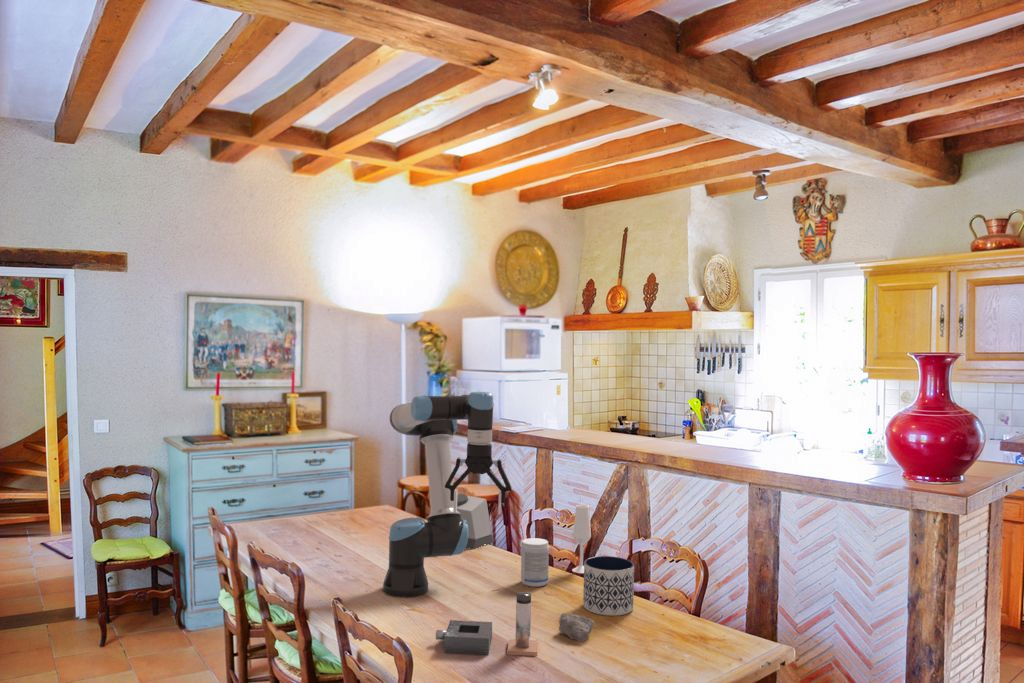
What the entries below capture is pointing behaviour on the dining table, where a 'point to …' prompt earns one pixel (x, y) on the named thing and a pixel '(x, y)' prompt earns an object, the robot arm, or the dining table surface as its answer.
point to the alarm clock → (475, 520)
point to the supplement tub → (534, 562)
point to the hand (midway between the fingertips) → (477, 512)
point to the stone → (575, 626)
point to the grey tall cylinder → (523, 619)
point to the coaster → (522, 651)
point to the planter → (608, 585)
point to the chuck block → (466, 637)
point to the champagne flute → (581, 531)
